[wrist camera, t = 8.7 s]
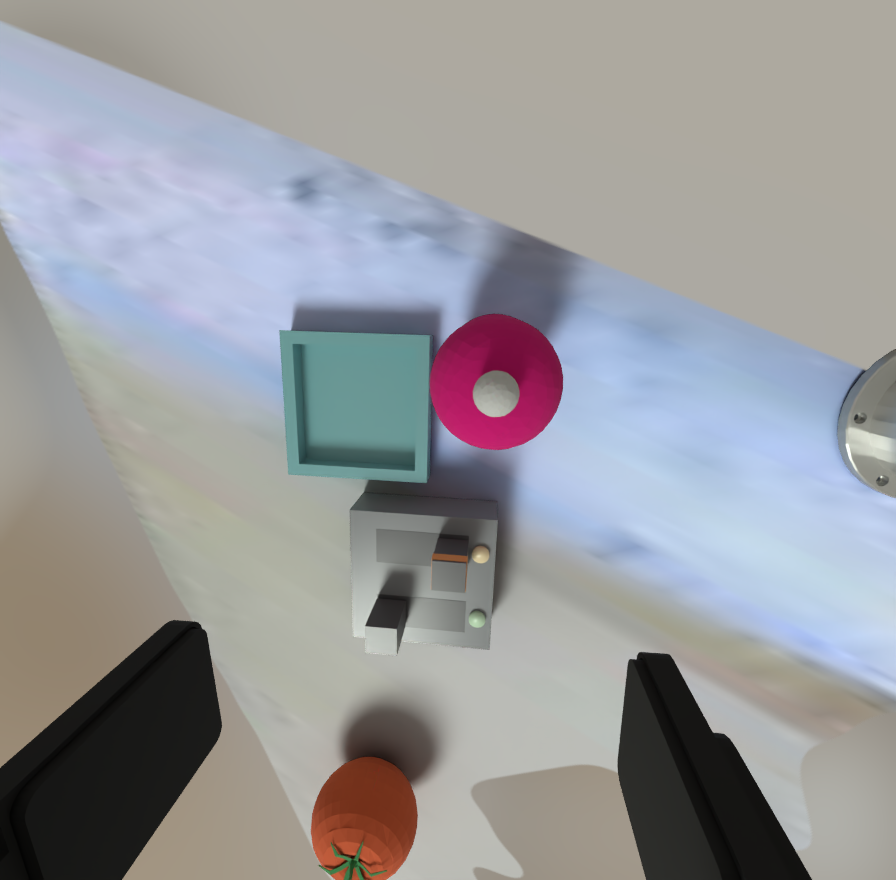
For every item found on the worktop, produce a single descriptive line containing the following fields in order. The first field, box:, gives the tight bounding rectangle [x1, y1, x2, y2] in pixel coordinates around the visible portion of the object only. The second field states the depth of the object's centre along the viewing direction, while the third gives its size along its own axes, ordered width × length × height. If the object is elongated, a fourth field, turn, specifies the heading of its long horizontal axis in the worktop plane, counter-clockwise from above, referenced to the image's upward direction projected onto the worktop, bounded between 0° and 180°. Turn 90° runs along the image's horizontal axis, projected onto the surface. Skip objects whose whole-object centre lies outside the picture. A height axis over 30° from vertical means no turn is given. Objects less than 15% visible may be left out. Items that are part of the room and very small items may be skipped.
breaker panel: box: [350, 493, 498, 650], centre depth 38 cm, size 12×12×4 cm
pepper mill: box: [430, 314, 563, 450], centre depth 25 cm, size 7×7×20 cm
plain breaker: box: [365, 598, 406, 656], centre depth 35 cm, size 2×2×4 cm
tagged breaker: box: [431, 538, 469, 593], centre depth 33 cm, size 3×2×4 cm
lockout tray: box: [279, 330, 433, 483], centre depth 36 cm, size 12×12×2 cm
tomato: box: [311, 757, 418, 880], centre depth 42 cm, size 10×10×10 cm
